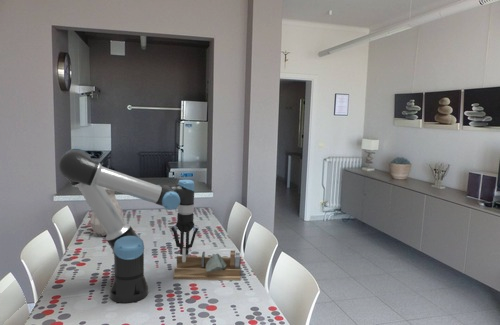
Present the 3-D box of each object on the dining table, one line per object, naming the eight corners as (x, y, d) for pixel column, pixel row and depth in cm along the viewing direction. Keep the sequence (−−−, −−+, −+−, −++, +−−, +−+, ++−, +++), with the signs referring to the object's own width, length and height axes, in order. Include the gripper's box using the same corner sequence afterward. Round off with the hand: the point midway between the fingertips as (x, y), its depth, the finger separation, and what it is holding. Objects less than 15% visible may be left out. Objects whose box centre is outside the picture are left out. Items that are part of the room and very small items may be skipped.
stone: (202, 254, 181) (222, 249, 183) (203, 260, 183) (223, 255, 185) (206, 269, 172) (227, 263, 174) (207, 275, 174) (228, 270, 176)
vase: (85, 231, 239) (84, 185, 235) (116, 226, 252) (116, 182, 248) (96, 240, 224) (96, 190, 220) (129, 233, 237) (128, 187, 234)
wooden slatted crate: (240, 280, 175) (240, 257, 173) (173, 279, 174) (173, 255, 173) (240, 270, 187) (241, 248, 185) (177, 268, 186) (177, 246, 184)
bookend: (203, 273, 178) (204, 255, 176) (197, 273, 177) (197, 255, 176) (204, 269, 182) (205, 251, 181) (198, 269, 182) (198, 251, 181)
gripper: (200, 211, 180) (198, 258, 183) (173, 210, 180) (171, 257, 182) (198, 215, 173) (196, 264, 175) (170, 214, 172) (168, 263, 175)
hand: (184, 261), depth 179 cm, fingers closed
